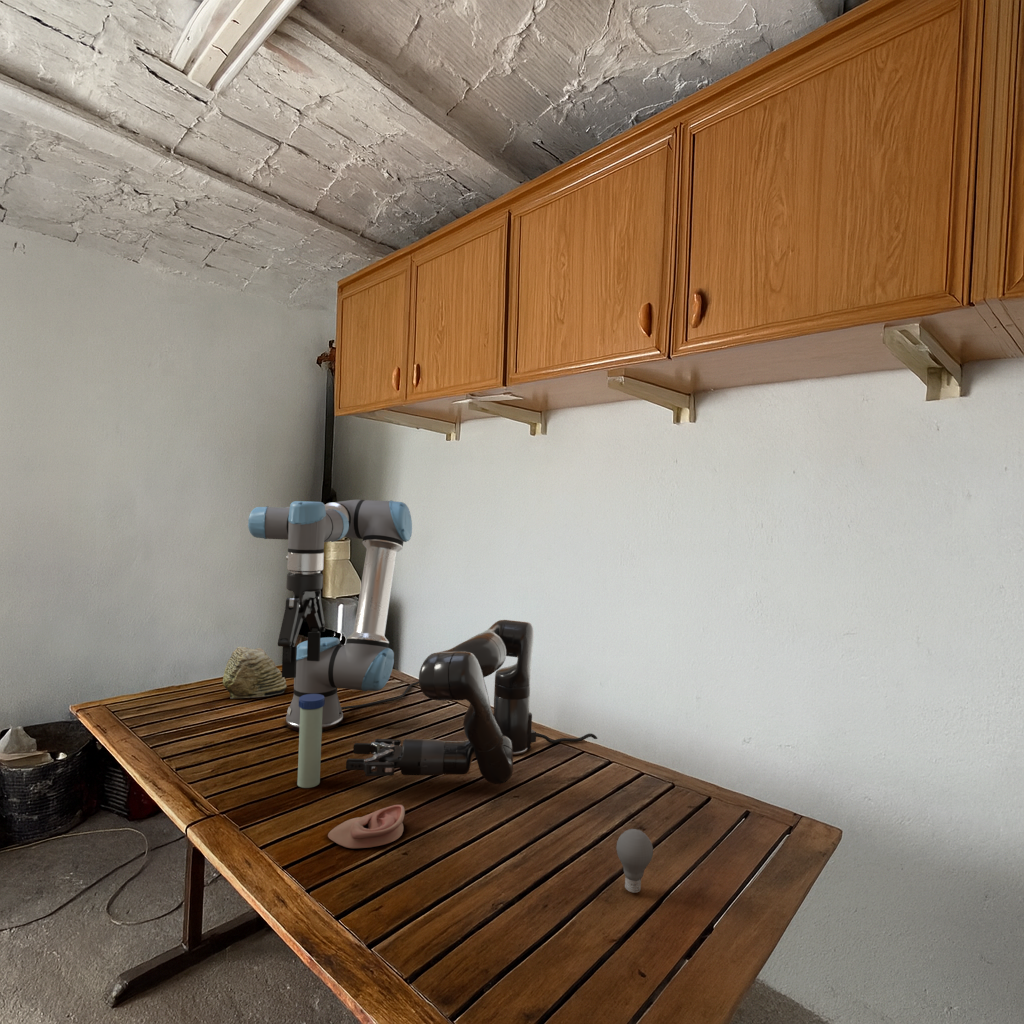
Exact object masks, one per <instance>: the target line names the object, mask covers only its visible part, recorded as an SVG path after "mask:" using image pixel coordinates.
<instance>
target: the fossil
mask: <svg viewBox="0 0 1024 1024" xmlns="http://www.w3.org/2000/svg"><path fill="white" fill-rule="evenodd" d="M222 676H223V677H222V685H223V687H224V688H225V690H226V691H228V693H229V698H230V699H250V698H264V697H271V696H275V695H281V694H284V693H285V691H286V689H287V687H288V686H287V680H286V677H282V671H281V669H279V668H278V667H277V665H276V663H275V662H274V660H273V659H272V658H271V657H270V656H269V655H268V654H267V653H266V652H265V650H264V649H263V648H260V647H258V648H251V647H247V646H246V647H245V646H238V647H237V648H236V649H235V650H233V651H232V653H231V656H230V657H229V659H228V660H227V663H226V666H225V668H224V671H223V675H222Z"/></svg>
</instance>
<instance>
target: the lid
mask: <svg viewBox="0 0 1024 1024" xmlns="http://www.w3.org/2000/svg"><path fill="white" fill-rule="evenodd" d="M324 705H325V698H324V696H323V695H321V694H306V695H303V696H301V697H300V698H299V707H300V708H302V709H317V708H321V707H323V706H324Z"/></svg>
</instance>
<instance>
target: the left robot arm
mask: <svg viewBox="0 0 1024 1024" xmlns="http://www.w3.org/2000/svg"><path fill="white" fill-rule="evenodd" d="M247 521H248V522H247V527H248V532H249V533H250V534H251V536H252V537H254V538H256V539H264V540H284V541H285V540H287V541H288V542H287V543H288V544H287V555H286V556H285V560H287V563H286V565H287V567H286V569H287V571H289V572H287V574H286V587H285V588H286V589H287V590H288V591H290V592H292V593H293V596H292V597H286V599H285V607H284V613H283V617H282V621H281V622H282V623H281V626H280V631H279V634H278V639H277V647H281V648H282V656H281V658H282V659H281V673H282V677H285V679H286V678H289V679H293V695H292V696H293V697H292V699H291V702H290V704H289V706H288V708H287V710H286V712H287V713H286V715H285V726H286V728H287V729H289V730H291V731H294V732H295V731H296V732H299V728H300V707H299V698H300V697H301V696H303V695H306V694H321V695H323V696H324V698H325V705H324V706H323V712H322V732H325V731H329V730H332V729H335V728H337V727H339V726H340V725H342V723H343V722H344V713H343V710H350V709H358V708H364V707H368V706H373V705H378V704H383V703H388V702H393V701H397V700H400V699H402V698H403V697H404V696H405V695H406V694H407V693H408V692H409V691H410V689H411V687H413V686H416V685H419V680H418V681H415V682H413V683H411V684H409V685H408V686H407V688H406V689H405V690H404V691H403V692H402V694H401V695H398V696H396V697H391V698H387V699H382V700H376V701H372V702H367V703H362V704H355V705H346V706H345V705H344V706H341V702H340V699H339V695H338V689H342V690H343V689H345V690H352V691H353V690H354V691H355V690H356V691H362V692H368V691H369V692H379V691H381V690H382V689H383V688H384V687H385V686H386V685H387V684H388V682H389V680H390V677H391V675H392V672H393V668H394V663H395V652H394V650H393V649H391V648H390V647H389V646H390V641H389V639H387V637H386V636H385V635H386V629H387V621H388V615H389V607H390V601H391V593H392V587H393V581H394V580H393V579H394V572H395V566H396V560H397V554H398V553H399V552H400V551H401V550H403V547H404V543H407V542H409V541H410V540H411V538H412V533H413V520H412V514H411V511H410V508H409V507H408V505H407V504H406V502H405V503H404V502H402V501H396V500H395V501H394V500H392V499H391V500H374V499H350V500H349V499H348V500H341V501H335V502H327V503H326V504H325V503H324V502H322V501H310V500H309V501H307V500H306V501H305V500H294V501H292V502H291V503H290V504H289V506H282V507H281V506H280V507H276V506H256V507H254V508H253V509H252V510H251V511H250V513H249V516H248V520H247ZM344 537H345V538H349V539H359V540H362V545H363V546H364V548H365V549H366V552H365V558H364V564H363V570H362V577H361V583H360V589H359V596H358V602H357V607H356V614H355V620H354V627H353V631H352V633H351V634H350V635H348V636H347V638H346V641H345V644H341V641H340V639H339V638H338V637H334V636H331V637H330V636H327V637H326V636H325V637H321V636H322V635H321V634H322V633H323V632H324V633H325V631H326V627H325V625H326V623H325V617H324V610H323V609H324V608H323V604H322V603H323V602H322V591H321V590H322V589H323V587H324V586H323V585H324V583H323V582H324V574H323V573H322V571H323V570H324V565H325V564H324V563H325V562H324V560H325V551H324V550H325V543H334V542H337V541H339V540H342V539H343V538H344ZM303 620H305V621H306V623H307V626H308V629H309V631H308V632H307V640H304V641H302V642H299V643H298V644H297V645H296V643H297V640H298V636H299V633H300V630H301V628H302V624H303Z"/></svg>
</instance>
